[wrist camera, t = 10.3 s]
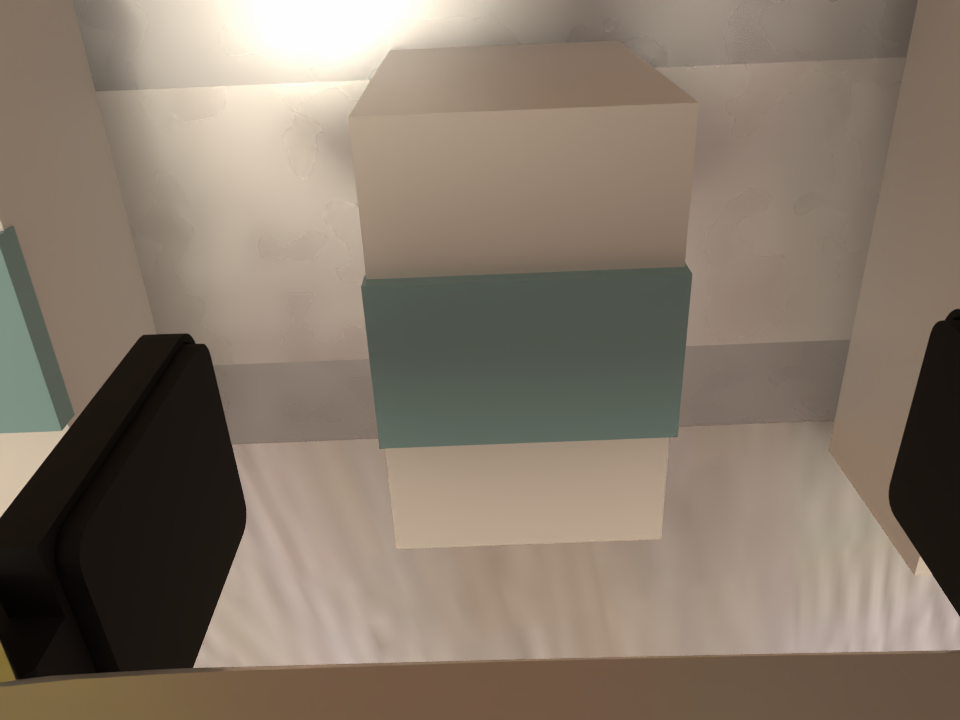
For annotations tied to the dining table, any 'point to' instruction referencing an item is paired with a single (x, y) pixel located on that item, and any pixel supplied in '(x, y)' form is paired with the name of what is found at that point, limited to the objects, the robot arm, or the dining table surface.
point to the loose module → (525, 288)
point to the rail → (334, 206)
